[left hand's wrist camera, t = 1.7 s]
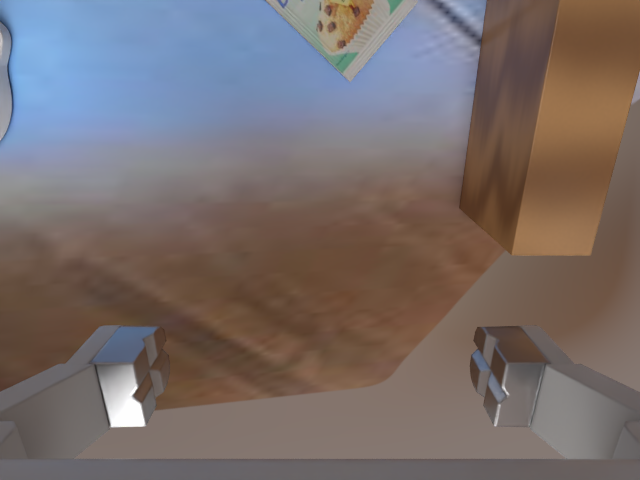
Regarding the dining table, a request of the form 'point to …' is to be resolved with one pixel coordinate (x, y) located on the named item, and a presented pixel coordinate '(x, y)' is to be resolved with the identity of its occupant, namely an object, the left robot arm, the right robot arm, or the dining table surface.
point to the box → (549, 120)
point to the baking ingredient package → (344, 27)
